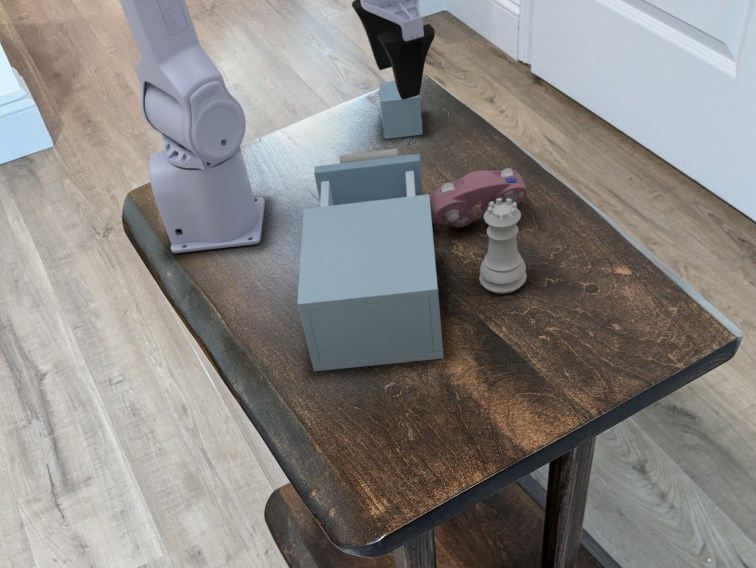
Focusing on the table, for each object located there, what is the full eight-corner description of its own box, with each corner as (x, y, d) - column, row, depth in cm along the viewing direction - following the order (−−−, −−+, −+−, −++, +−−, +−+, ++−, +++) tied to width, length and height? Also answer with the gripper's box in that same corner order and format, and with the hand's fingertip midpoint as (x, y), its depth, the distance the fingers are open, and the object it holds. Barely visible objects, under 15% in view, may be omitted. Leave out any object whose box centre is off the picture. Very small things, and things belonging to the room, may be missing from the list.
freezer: (318, 276, 85) (303, 208, 79) (435, 263, 84) (429, 193, 78) (313, 371, 77) (297, 304, 71) (443, 358, 76) (437, 288, 70)
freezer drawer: (325, 193, 92) (315, 141, 88) (422, 181, 91) (417, 129, 87) (321, 294, 82) (310, 242, 77) (430, 282, 81) (425, 229, 76)
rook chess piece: (469, 283, 82) (465, 208, 75) (501, 260, 83) (501, 185, 77) (504, 302, 79) (503, 227, 73) (536, 278, 81) (539, 203, 75)
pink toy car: (432, 248, 88) (436, 211, 81) (420, 209, 89) (423, 169, 82) (524, 225, 89) (536, 186, 82) (511, 186, 90) (522, 144, 83)
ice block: (384, 139, 99) (380, 101, 96) (384, 119, 102) (379, 82, 98) (422, 134, 99) (419, 96, 95) (421, 115, 101) (417, 77, 98)
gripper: (448, -42, 81) (455, 99, 92) (397, -89, 90) (410, 45, 101) (378, -22, 81) (394, 117, 91) (334, -72, 89) (353, 61, 100)
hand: (398, 81), depth 96 cm, fingers open, 7 cm apart
